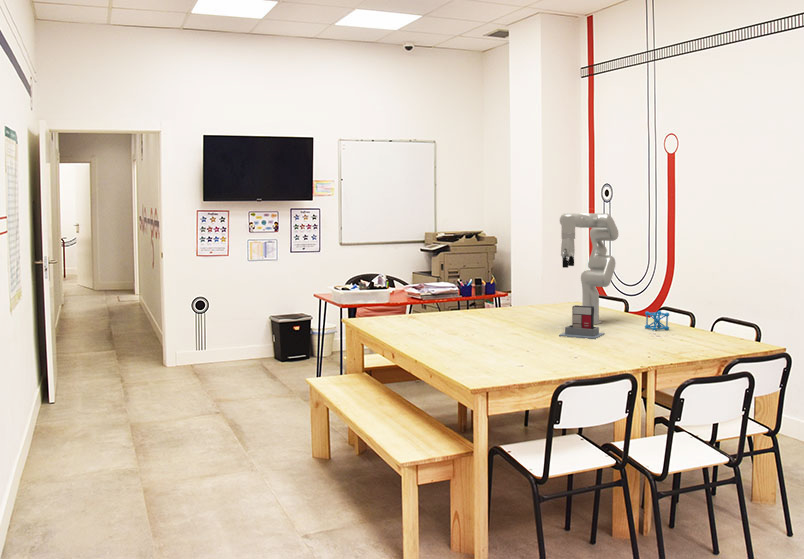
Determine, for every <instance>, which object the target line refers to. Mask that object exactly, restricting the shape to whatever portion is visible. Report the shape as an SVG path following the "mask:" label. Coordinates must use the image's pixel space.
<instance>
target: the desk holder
mask: <svg viewBox="0 0 804 559" xmlns="http://www.w3.org/2000/svg"><path fill="white" fill-rule="evenodd" d="M604 334H605V332H600V326H594V329H584V328H572V324H570V325H567V326H565V327H564V332H563V333H560V334H558V337H561V336H567V337H566V338H573V337H576V339H585V338H588V339H587V340H597V339H599V338H601V337H603V336H604ZM602 335H603V336H602ZM600 336H601V337H600ZM598 337H599V338H598ZM596 338H597V339H596Z"/></svg>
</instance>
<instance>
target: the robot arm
mask: <svg viewBox="0 0 804 559" xmlns="http://www.w3.org/2000/svg"><path fill="white" fill-rule="evenodd" d="M559 224H560V226H561V227H560V228H561V236H560V237H561V244H560V245H561V246H560V256H561V260H562V268H563V269H564V268H569V267H575V254H576V253H575V251H576V250H575V247H576V246H575V240H576V228H580V229H581V228H584V229H587V228H588V229H590V230H589V237H590V242H591V244H592V249H591V253H590V256H589V259H588V263H587V267H588V270H584V271H583V272H581V275H580V281H581V282H580V283H581V289H582V303H581V304H582V305H581V306H594V325H600V324H602V320H599V319H600V314H599V313H600V293H599V291H598V288H597V287H600V288H606V287H608V286H610V284H611V281H612V279H613V276H614V272H615V270H616V264H617V263H616V259H615V257H614V256H613V255H607V252H608V249H607V246H606V245H605V243H603V242H604V241H605V242H614V241H616V240H617V239H618V237H619V230H618V226H617V225H616V222H615V221H614V218H613V217H612V215H610V214H609V213H591V212H590V213H589V212H583V213H562V214H561V215H560V217H559Z"/></svg>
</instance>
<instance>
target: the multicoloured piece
mask: <svg viewBox="0 0 804 559" xmlns="http://www.w3.org/2000/svg"><path fill="white" fill-rule="evenodd" d="M571 315H572V316H571V317H572V323H571V325H572V328H584V329H594V327H595V326H594V325H595V324H594V306H582V305H573V306H572V314H571Z"/></svg>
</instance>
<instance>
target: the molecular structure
mask: <svg viewBox="0 0 804 559" xmlns="http://www.w3.org/2000/svg"><path fill="white" fill-rule="evenodd" d="M644 315H645V317H646V319H645V320H646V321H645V322H646V323H645V326H644V328H645V329H646V328H648V329H651V330H652V331H653V330H656V331H657V330H665V331H669V329H670V327H669V326H668V322H669V318H668V317H670V313H669V312H665V313H664V312H662V311H661V310H657V311H655V312H649V311H645V313H644ZM649 317H650V318H651V319H653V322H651V323H650V324H648V323H649ZM664 318H666V319H665V325H664V324H663V323H662V322H661V320H662V319H664ZM658 327H659V328H658Z"/></svg>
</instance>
